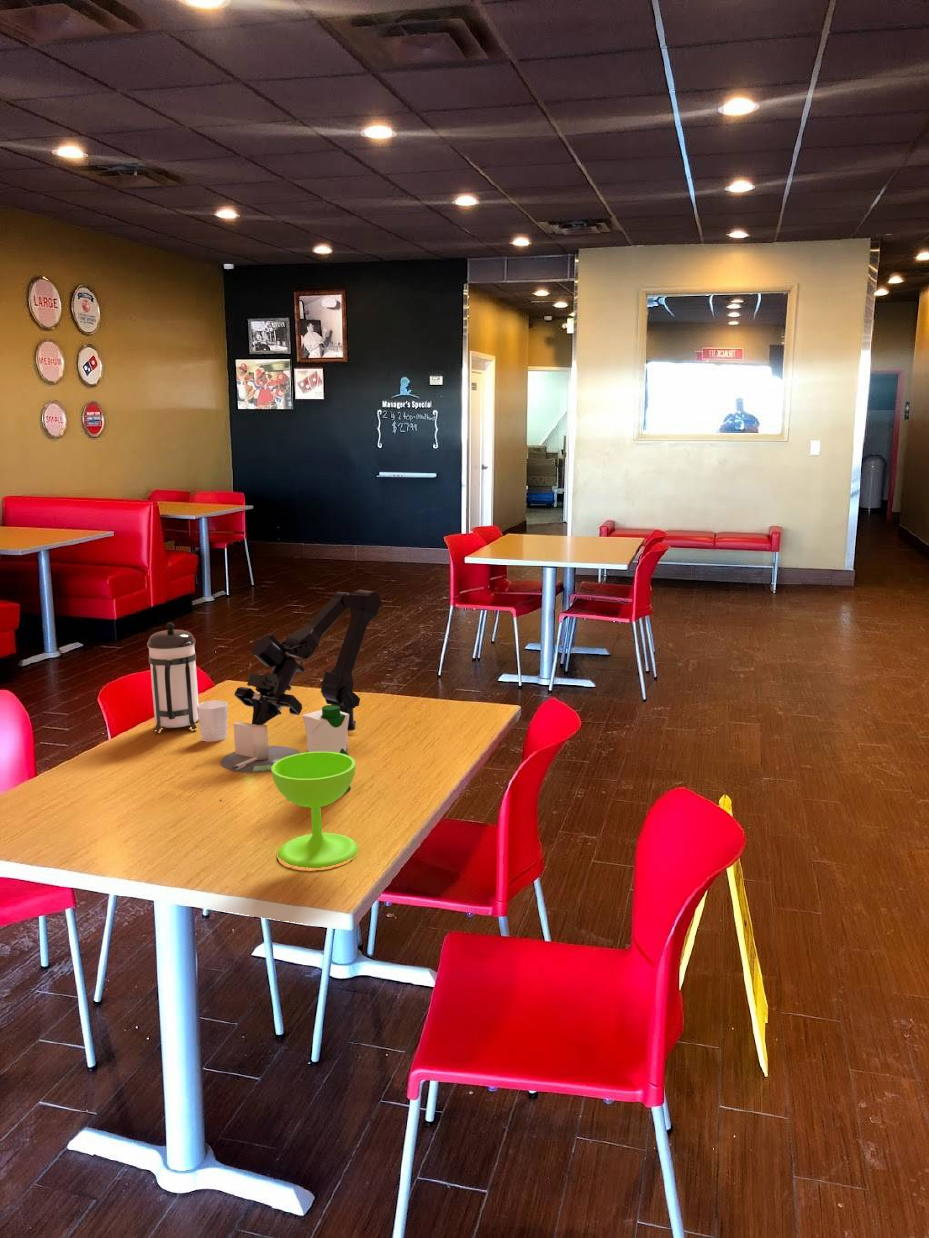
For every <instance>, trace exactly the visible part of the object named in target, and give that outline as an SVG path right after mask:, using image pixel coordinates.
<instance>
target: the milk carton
mask: <svg viewBox="0 0 929 1238" xmlns="http://www.w3.org/2000/svg"><path fill="white" fill-rule="evenodd" d="M301 716H302V719H303V720H302V721H303V725H304V729H305V732H306V747H307V748H306V749H307V752H337V753H342V754H346V755H348V756H349V745H348V743H349V742H348V740H349V739H348V737H349V736H348V729H347V728H348V721H349V714H347V713H344V712H341V711H340V706H338V705H331V704H327V705H323V706H322V707H321V709H320V710H315V711H313V712H309V713H304V714H302V715H301ZM351 789H352V788H351V786H350V787H349V788H348V789H347V791H348V790H351Z"/></svg>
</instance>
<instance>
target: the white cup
mask: <svg viewBox="0 0 929 1238" xmlns="http://www.w3.org/2000/svg"><path fill="white" fill-rule="evenodd" d="M197 712H198V721H199V722H198V727H199V732H200V736H201V737H200V738H201V742H202V741H205V742H221V741H223V740H226V739H227V738H228V728H229V727H228V725H229V723H228V717H229V715H228V714H229V713H228V702H227V701H225V700H216V699H215V700H207V701H203V702H198V705H197Z"/></svg>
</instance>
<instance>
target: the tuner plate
mask: <svg viewBox="0 0 929 1238" xmlns="http://www.w3.org/2000/svg"><path fill="white" fill-rule="evenodd" d="M268 749H269V758H268V759H265V760H255V761H252V762H250V763H248V764H245V765H243V766H240V767H239V768H237V769H232V766H234V765H237V764H240V763H242V762H244V761H247V760H249V759H251V758H254V757H249V756H244V755H239V754H235V751H233V752H230V753H228V754H226V755H225V756H224V757H222V758H221V760H220V763H219V764H220V766H221V767H222V768H224V769H225V770H228V771H229V772H230V771H231V772H235V773H240V774H241V773H242V774H245V773H246V774H254V773H255V774H259V773H269V772H272V770H271V767H272V765H273V764H274V763H275V762H277V761H278V760H280V759H282V758H285V757H287V756H291V755H295V754H300V753H302V752H300V751H299V750H298V749H296V748H292V747H289V746H283V745H282V746H281V745H268Z"/></svg>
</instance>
